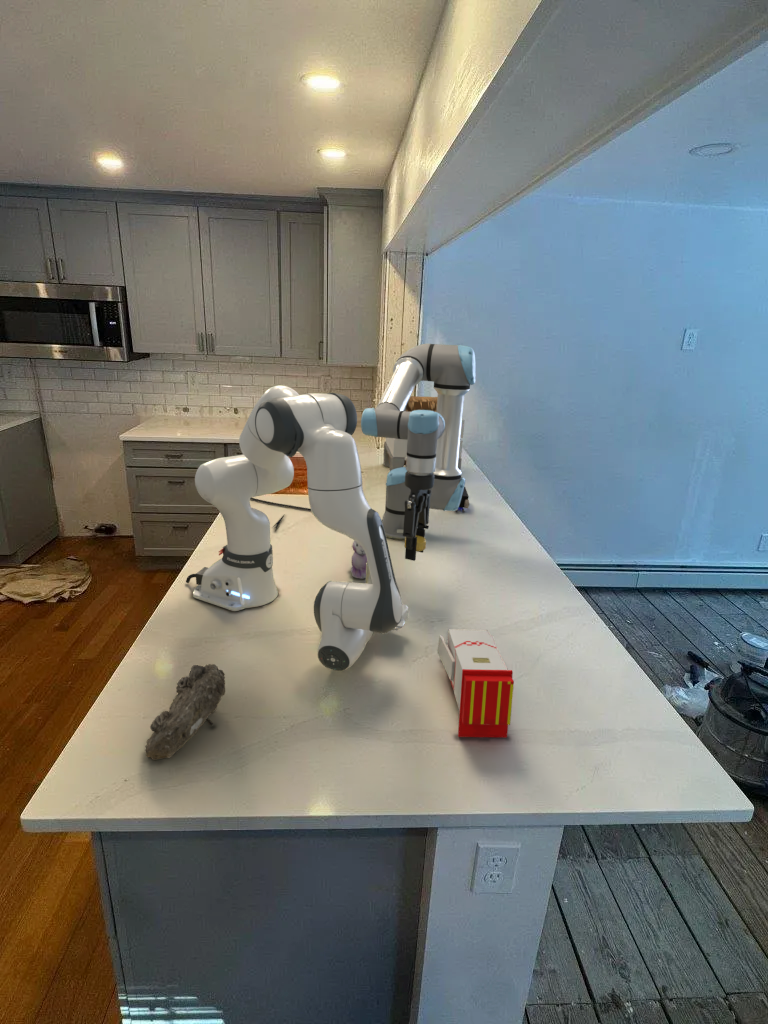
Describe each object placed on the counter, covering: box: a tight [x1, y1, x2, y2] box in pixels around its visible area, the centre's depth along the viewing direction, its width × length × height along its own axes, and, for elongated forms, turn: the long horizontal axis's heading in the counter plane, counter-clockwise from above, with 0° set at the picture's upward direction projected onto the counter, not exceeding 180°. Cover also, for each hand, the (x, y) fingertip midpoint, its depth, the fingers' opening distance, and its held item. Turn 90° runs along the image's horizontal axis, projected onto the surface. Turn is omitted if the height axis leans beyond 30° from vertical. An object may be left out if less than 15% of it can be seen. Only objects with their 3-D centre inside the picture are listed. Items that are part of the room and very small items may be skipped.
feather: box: [270, 514, 286, 532], centre depth 209 cm, size 2×28×2 cm
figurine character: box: [454, 486, 470, 513], centre depth 227 cm, size 7×8×15 cm
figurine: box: [350, 540, 367, 580], centre depth 167 cm, size 9×10×15 cm
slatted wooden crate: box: [383, 395, 465, 472], centre depth 268 cm, size 34×33×41 cm
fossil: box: [144, 663, 226, 761], centre depth 105 cm, size 22×10×15 cm
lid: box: [404, 535, 427, 552], centre depth 151 cm, size 6×6×2 cm
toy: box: [437, 628, 515, 738], centre depth 117 cm, size 12×13×30 cm
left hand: (375, 595), depth 144 cm, fingers closed on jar, 5 cm apart
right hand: (414, 555), depth 153 cm, fingers closed on lid, 5 cm apart
